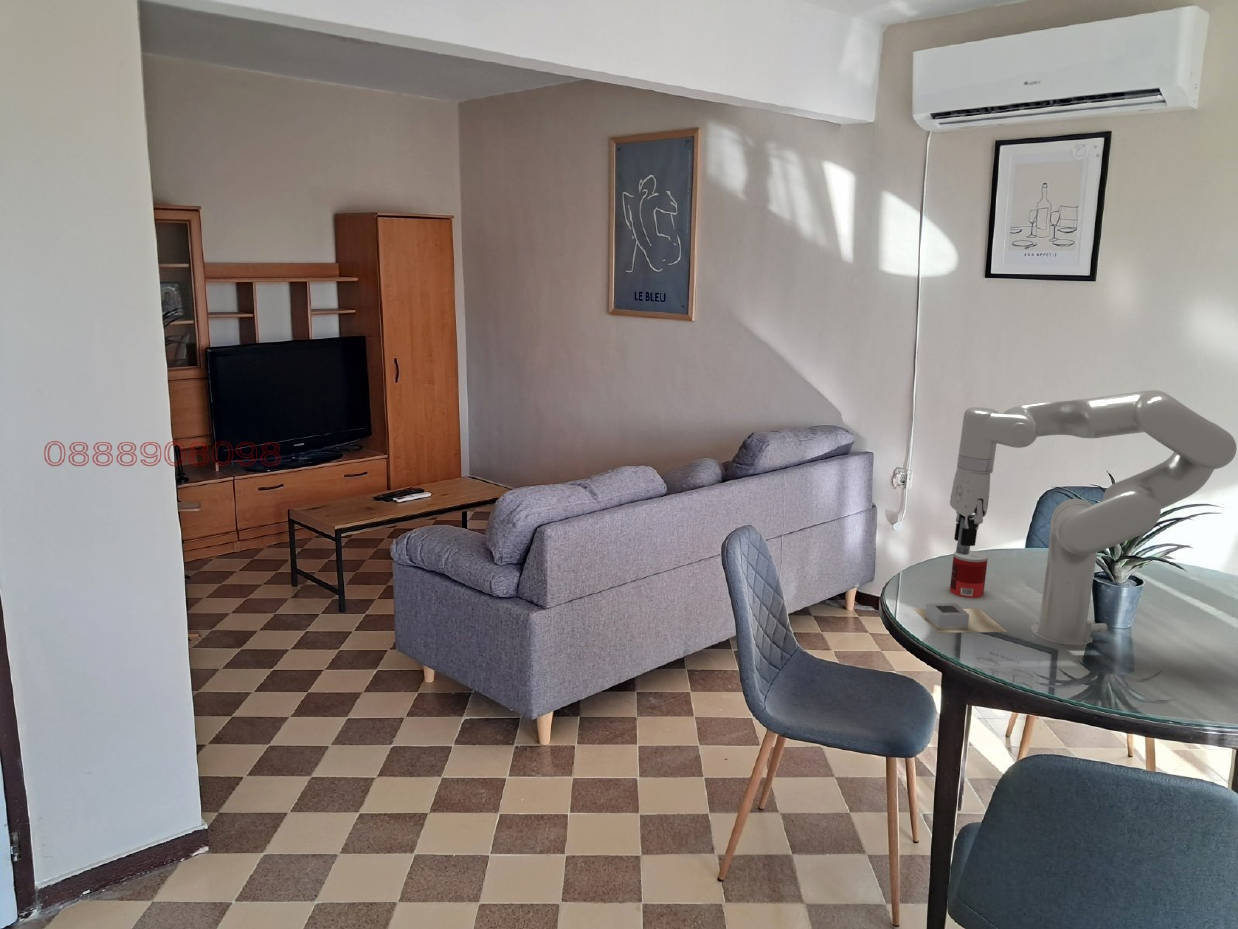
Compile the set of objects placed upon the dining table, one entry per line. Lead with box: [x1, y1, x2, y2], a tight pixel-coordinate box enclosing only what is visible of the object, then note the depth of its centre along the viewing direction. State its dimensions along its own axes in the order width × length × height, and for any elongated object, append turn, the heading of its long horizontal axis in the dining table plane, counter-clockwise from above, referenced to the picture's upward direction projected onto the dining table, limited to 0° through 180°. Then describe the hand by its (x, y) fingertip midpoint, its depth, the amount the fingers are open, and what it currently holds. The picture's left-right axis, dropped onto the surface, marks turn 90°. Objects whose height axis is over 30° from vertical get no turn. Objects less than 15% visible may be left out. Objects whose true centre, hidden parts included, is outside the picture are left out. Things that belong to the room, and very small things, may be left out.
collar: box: [925, 602, 969, 630], centre depth 216 cm, size 7×7×4 cm
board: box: [913, 608, 1008, 634], centre depth 218 cm, size 16×14×1 cm
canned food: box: [949, 550, 989, 599], centre depth 236 cm, size 8×8×11 cm
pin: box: [955, 517, 973, 555], centre depth 215 cm, size 3×3×8 cm
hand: (964, 542), depth 215 cm, fingers closed on pin, 2 cm apart
